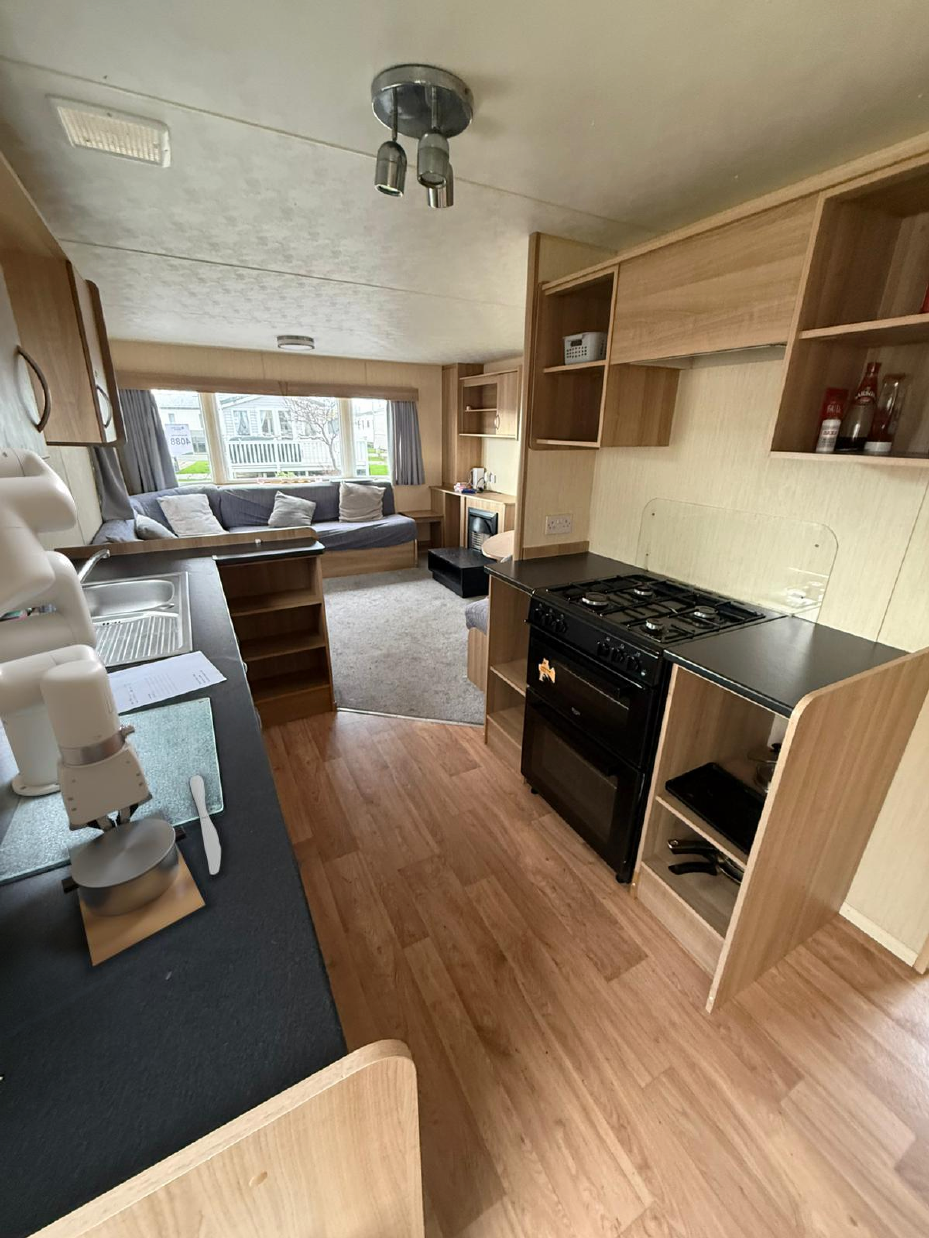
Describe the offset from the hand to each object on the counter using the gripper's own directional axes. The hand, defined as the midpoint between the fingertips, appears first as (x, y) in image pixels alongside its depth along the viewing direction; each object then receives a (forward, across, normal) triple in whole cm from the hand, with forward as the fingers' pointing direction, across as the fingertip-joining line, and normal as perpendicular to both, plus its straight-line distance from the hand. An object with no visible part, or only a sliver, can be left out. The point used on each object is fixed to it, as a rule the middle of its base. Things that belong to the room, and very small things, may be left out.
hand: (121, 843), depth 79 cm
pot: (+1, 0, +8) cm, 8 cm away
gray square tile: (+2, 0, 0) cm, 2 cm away
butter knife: (+2, -12, +2) cm, 12 cm away
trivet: (+2, 0, +13) cm, 13 cm away
